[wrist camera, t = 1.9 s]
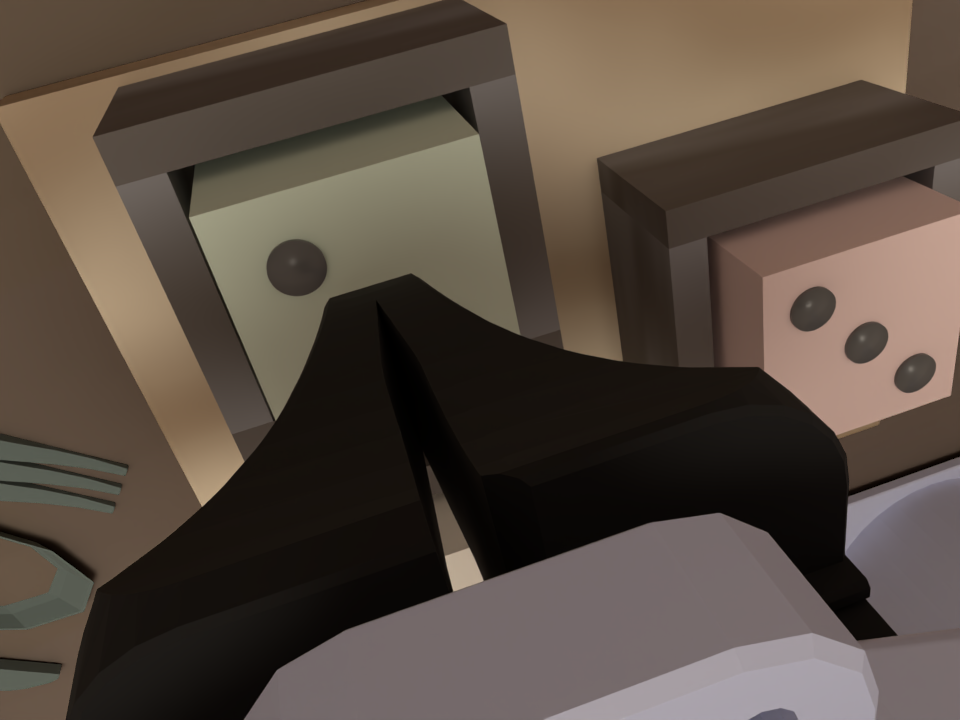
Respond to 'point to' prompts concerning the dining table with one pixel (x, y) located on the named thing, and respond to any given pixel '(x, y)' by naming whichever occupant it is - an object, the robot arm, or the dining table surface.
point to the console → (508, 159)
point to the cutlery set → (8, 477)
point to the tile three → (845, 300)
